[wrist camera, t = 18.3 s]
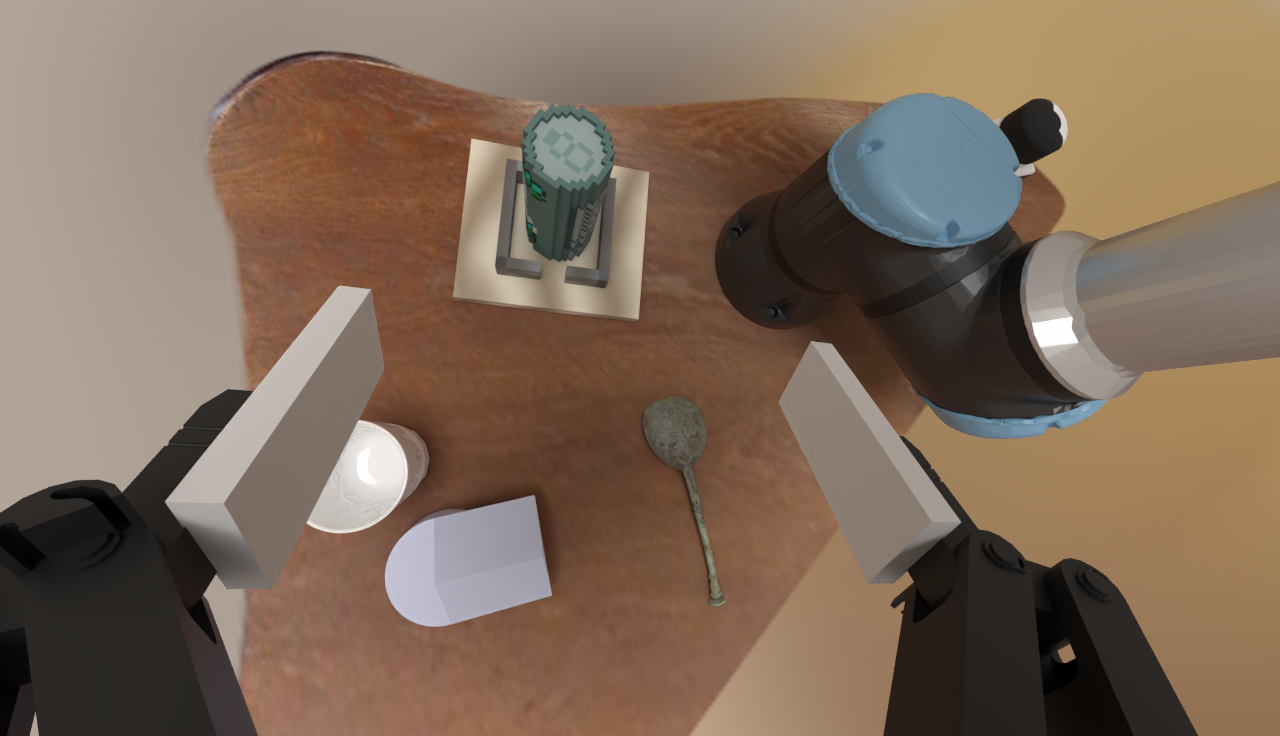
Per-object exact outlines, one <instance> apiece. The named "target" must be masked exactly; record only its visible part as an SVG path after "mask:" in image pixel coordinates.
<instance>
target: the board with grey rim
mask: <svg viewBox="0 0 1280 736" xmlns="http://www.w3.org/2000/svg"><path fill="white" fill-rule="evenodd" d="M648 181H649V172H645V171H640V170H635V169H629V168H624V167H619V166H613V169H612V172H611V175H610V178H609V182H608V185H607V188H606V191H605V194H604V198H603V201H602V204H601V207H600V210H599V214H598V217H597V220H596V223H595V226H594V230H593V233H592V236H591V239H590V242H589V243H588V245H587V246H586V248H585V249H584V250H583V252H582V253H581V255H580V256H579V257H578V256H576V255H575V256H574V257H573V259H572V260H571V261H570V260H569V259H567V260H566V262H565V261H563V260H561V261H560V263H559V262H558V261H556V260H555V259H554V258H552V260H551V261H550V260H548V259H547V258H545V257H544V256H542V255H541V254H539V253H538V252H537V251H535V250H534V249H533V244H532V243H530V242H529V241H528V236H527V230H526V219H525V200H524V181H523V163H522V148H519V147H513V146H508V145H503V144H497V143H492V142H487V141H482V140H476V139H472V141H471V149H470V158H469V166H468V175H467V183H466V191H465V200H464V208H463V216H462V225H461V233H460V241H459V250H458V258H457V266H456V275H455V283H454V291H453V298H454V299H455V301H462V302H470V303H479V304H487V305H496V306H504V307H513V308H521V309H530V310H538V311H547V312H555V313H564V314H573V315H581V316H590V317H598V318H607V319H615V320H624V321H632V322H636V321H637V320H638V319H639V308H640V294H641V280H642V266H643V252H644V237H645V223H646V209H647V195H648Z"/></svg>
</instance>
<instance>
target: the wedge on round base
mask: <svg viewBox="0 0 1280 736" xmlns="http://www.w3.org/2000/svg"><path fill="white" fill-rule="evenodd" d="M385 585H386V590H387V593H388V597H389V599H390V601H391V603H392V604H393V606H394V607H395V608H396V610H397V611H398V612H399V613H400V614H401V615H403V616H404V617H405V618H407V619H408V620H410V621H412V622H414V623H417V624H420V625H425V626H434V627H437V626H446V625H450V624H454V623H458V622H461V621H465V620H468V619H472V618H475V617H479V616H482V615H486V614H489V613H493V612H496V611H500V610H503V609H507V608H510V607H514V606H517V605H521V604H524V603H528V602H531V601H535V600H538V599H542V598H545V597H549V596H552V592H551V587H550V581H549V575H548V569H547V564H546V558H545V552H544V546H543V541H542V535H541V529H540V523H539V518H538V512H537V506H536V500H535V495H532V496H528V497H524V498H519V499H515V500H511V501H506V502H502V503H498V504H493V505H489V506H485V507H480V508H476V509H472V510H462V509H447V510H441V511H438V512H435V513H432V514H430V515H428V516H426V517H425V518H423V519H421V520H420V521H419V522H418V523H416V524H415V525H414V526H413V527H412V528H411V529H410V530H409V531H408V532H406V533H405V534H404V535H403V536H402V537H401V538H400V540H399V541H398V542H397V544H396V545H395V547H394V548H393V550H392V552H391V554H390V556H389V558H388V562H387V565H386V571H385Z"/></svg>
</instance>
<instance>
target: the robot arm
mask: <svg viewBox="0 0 1280 736" xmlns="http://www.w3.org/2000/svg"><path fill="white" fill-rule="evenodd" d="M1019 166H1020V165H1019V161H1018V158H1017V155H1016V153H1015V151H1014V149H1013V147H1012V145H1011V143H1010V142H1009V140H1008V138H1007V137H1006V136H1005V134H1004V133H1003V132H1002V130H1001V129H1000V128H999V127H998V126H997V125H996V124H995V123H994V122H993V121H992V120H991V119H990V118H989V117H988V116H986V115H985V114H984V113H982V112H981V111H979V110H978V109H976V108H975V107H973V106H972V105H969V104H968V103H966V102H963V101H961V100H958V99H956V98H953V97H941V96H938V95H936V94H932V93H918V94H911V95H906V96H902V97H899V98H896V99H894V100H891V101H889V102H887V103H885V104H884V105H882V106H880V107H879V108H877V109H876V110H875V111H874V112H872V113H871V114H870V115H869V116H867V117H866V118H865V119H864V120H862V121H861V122H860V123H858V124H856V125H854V126H852V127H850V128H849V129H847V130H846V131H845V132H844V133H843V134H842V135H841V136H840V137H839V138H838V139H837V140H836V142H835V144H834V145H833V146H832V148H831V149H830V150H828V151H827V152H826V153H825V154H824V155H823V156H822V157H821V158H820V159H819V160H817V161H816V162H815V163H814V164H813V165H812V166H811V167H809V168H808V169H807V170H806V171H805V172H804V173H803V174H801V175H800V176H799V177H798V178H797V179H796V180H795V181H794V182H792V183H791V184H790V185H789V186H788V187H787V188H785V189H782V190H778V191H775V192H771V193H768V194H764V195H761V196H758V197H756V198H754V199H752V200H751V201H749V202H747V203H746V204H744V205H743V206H742V207H741V208H740V209H739V210H738V211H737V212H736V213H735V214H734V215H733V216H732V217H731V218H730V219H729V220H728V222H727V223H726V224H725V226H724V228H723V229H722V231H721V234H720V236H719V239H718V243H717V248H716V269H717V274H718V278H719V281H720V284H721V286H722V288H723V290H724V292H725V294H726V296H727V297H728V299H729V300H730V302H731V303H732V304H733V306H734V307H735V308H736V309H737V310H738V311H739V312H740V313H742V314H743V315H744V316H745V317H747V318H748V319H750V320H751V321H753V322H755V323H757V324H760V325H762V326H765V327H769V328H775V329H789V328H794V327H798V326H801V325H804V324H807V323H810V322H812V321H814V320H816V319H818V318H820V317H821V316H823V315H824V314H825V313H827V312H828V311H829V310H830V309H831V308H832V307H833V306H834V305H835V303H836V302H837V301H838V300H839V299H840V298H841V297H842V296H843V295H844V294H845V293H846V292H847V291H848V293H849V294H850V296H851V297H852V298H853V300H854V301H855V303H856V304H857V305H858V307H859V308H860V309H861V311H862V312H863V314H864V315H865V317H866V318H867V320H868V321H869V323H870V324H871V326H872V327H873V329H874V330H875V331H876V333H877V334H878V336H879V337H880V339H881V340H882V342H883V343H884V345H885V346H886V348H887V349H888V351H889V352H890V354H891V355H892V356H893V358H894V359H895V361H896V362H897V364H898V365H899V367H900V368H901V370H902V371H903V373H904V374H905V376H906V377H907V379H908V380H909V381H910V383H911V384H912V387H913V389H914V391H916V393H917V395H918V396H919V397H920V398H921V399H922V400H923V401H924V402H925V403H927V404H928V405H929V407H930V408H931V409H932V410H933V411H934V413H935V414H936V415H937V416H938V417H939V418H940V419H941V420H942V421H943V422H944V423H945V424H947V425H948V426H950V427H951V428H953V429H955V430H957V431H960V432H962V433H966V434H968V435H972V436H977V437H983V438H992V439H1016V438H1025V437H1032V436H1038V435H1042V434H1044V432H1045V429H1047V428H1049V427H1057V428H1060V429H1063V428H1066V427H1069V426H1072V425H1074V424H1076V423H1078V422H1080V421H1082V420H1084V419H1086V418H1087V417H1089V416H1090V415H1091V414H1093V413H1095V412H1096V411H1097V410H1099V409H1100V408H1101V407H1102V405H1103V404H1104V403H1105V402H1106V401H1107V400H1108V399H1112V398H1116V397H1118V396H1120V395H1122V394H1124V393H1125V392H1127V391H1128V390H1129V389H1130V388H1131V387H1132V386H1133V385H1134V383H1135V382H1136V381H1137V380H1138V379H1139V378H1140V376H1141V375H1142V374H1143V373H1144V372H1149V371H1158V370H1167V369H1176V368H1186V367H1195V366H1204V365H1213V364H1222V363H1231V362H1239V361H1250V360H1259V359H1267V358H1277V357H1280V181H1279V182H1276V183H1273V184H1270V185H1267V186H1264V187H1261V188H1258V189H1255V190H1252V191H1249V192H1246V193H1243V194H1240V195H1237V196H1234V197H1231V198H1228V199H1225V200H1222V201H1219V202H1216V203H1213V204H1210V205H1207V206H1204V207H1201V208H1198V209H1195V210H1192V211H1189V212H1186V213H1183V214H1180V215H1177V216H1174V217H1171V218H1168V219H1165V220H1162V221H1159V222H1156V223H1153V224H1150V225H1147V226H1144V227H1141V228H1138V229H1135V230H1132V231H1129V232H1126V233H1124V234H1120V235H1117V236H1114V237H1111V238H1108V239H1105V240H1099V239H1097V238H1094V237H1091V236H1088V235H1086V234H1083V233H1080V232H1076V231H1059V232H1056V233H1053V234H1050V235H1047V236H1045V237H1042V238H1039V239H1037V240H1034V241H1031V242H1028V243H1022V241H1021V240H1020V238H1019V237H1018V235H1017V234H1016V232H1015V231H1014V230H1013V228H1012V227H1011V225H1010V224H1009V222H1008V220H1009V219H1010V218H1011V216H1012V215H1013V213H1014V212H1015V210H1016V208H1017V206H1018V204H1019V201H1020V197H1021V191H1022V179H1021V178H1020V177H1018V176H1017V175H1015V173H1014V172H1016V171H1017V169H1018V168H1019ZM384 369H385V368H384V362H383V357H382V351H381V345H380V339H379V333H378V328H377V322H376V316H375V310H374V304H373V298H372V293H371V289H363V288H354V287H346V286H338V288H337V289H336V290H335V291H334V292H333V294H332V295H331V296H330V297H329V299H328V300H327V301H326V302H325V304H324V305H323V306H322V307H321V309H320V310H319V311H318V312H317V314H316V315H315V316H314V317H313V319H312V320H311V321H310V322H309V323H308V325H307V326H306V327H305V328H304V330H303V331H302V332H301V333H300V335H299V336H298V337H297V338H296V340H295V341H294V342H293V343H292V345H291V346H290V347H289V348H288V350H287V351H286V352H285V353H284V354H283V356H282V357H281V358H280V359H279V361H278V362H277V363H276V364H275V366H274V367H273V368H272V369H271V371H270V372H269V373H268V374H267V376H266V377H265V378H264V379H263V381H262V382H261V383H260V384H259V385H258V387H257V388H256V389H255V390H254V391H244V390H230V389H228V390H226V391H224V392H223V393H221V394H219V395H218V396H216V397H215V398H213V399H211V400H210V401H208V402H206V403H205V404H203V405H201V406H200V407H199V409H198V410H197V411H196V412H195V413H194V414H193V415H192V416H191V417H190V419H189V420H188V421H187V422H186V423H185V424H184V428H183V429H180V430H179V431H178V432H177V433H176V434H175V435H174V436H173V437H172V438H171V440H170V441H169V444H168V446H164V447H163V448H162V449H161V450H160V452H159V453H158V454H157V455H156V456H155V457H154V458H153V459H152V460H151V462H150V463H149V464H148V465H147V466H146V467H145V468H144V469H143V470H142V472H141V473H140V474H139V475H138V476H137V477H136V478H135V479H134V480H133V481H132V483H131V484H130V485H129V486H128V487H127V488H126V489H125V490H124V491H123V492H122V493H121V491H120V490H119V489H118V488H117V486H116V485H115V484H112V483H108V482H105V481H101V480H80V481H79V480H77V481H72V482H68V483H64V484H60V485H56V486H51V487H48V488H46V489H43V490H41V491H39V492H37V493H34V494H32V495H29V496H27V497H25V498H23V499H21V500H19V501H18V502H16V503H15V504H13V505H12V506H10V507H9V508H7V509H6V510H4V511H3V512H1V513H0V736H30V731H31V727H32V723H33V719H34V715H35V711H36V717H37V724H38V731H39V736H258V734H257V732H256V729H255V726H254V724H253V721H252V718H251V716H250V713H249V710H248V708H247V705H246V702H245V700H244V697H243V694H242V691H241V689H240V686H239V683H238V681H237V678H236V675H235V673H234V670H233V667H232V665H231V662H230V659H229V657H228V654H227V651H226V649H225V646H224V643H223V641H222V638H221V635H220V633H219V630H218V627H217V624H216V622H215V619H214V616H213V614H212V611H211V608H210V606H209V603H208V601H207V599H206V598H205V597H204V596H203V594H204V592H205V591H206V589H207V587H208V586H209V584H210V582H211V581H212V579H213V578H214V576H215V575H217V576H218V577H219V579H220V580H221V581H222V583H223V584H224V586H225V587H226V589H263V588H274V586H275V584H276V582H277V580H278V578H279V576H280V574H281V572H282V570H283V568H284V566H285V564H286V562H287V560H288V558H289V556H290V554H291V552H292V550H293V549H294V547H295V545H296V543H297V541H298V539H299V537H300V535H301V533H302V531H303V529H304V527H305V525H306V523H307V521H308V519H309V517H310V515H311V513H312V511H313V509H314V507H315V505H316V503H317V501H318V499H319V497H320V495H321V493H322V491H323V489H324V487H325V485H326V483H327V482H328V480H329V478H330V476H331V474H332V472H333V470H334V468H335V466H336V464H337V462H338V460H339V458H340V456H341V454H342V452H343V450H344V448H345V446H346V444H347V442H348V440H349V438H350V436H351V434H352V432H353V430H354V428H355V426H356V424H357V422H358V420H359V418H360V416H361V415H362V413H363V411H364V409H365V407H366V405H367V403H368V401H369V399H370V397H371V395H372V393H373V391H374V389H375V387H376V385H377V383H378V381H379V379H380V377H381V375H382V373H383V371H384ZM778 403H779V405H780V407H781V409H782V411H783V413H784V415H785V417H786V419H787V421H788V423H789V425H790V427H791V429H792V431H793V433H794V435H795V437H796V439H797V441H798V443H799V445H800V447H801V449H802V451H803V453H804V455H805V457H806V459H807V461H808V464H809V466H810V468H811V470H812V472H813V474H814V476H815V478H816V480H817V482H818V484H819V486H820V488H821V490H822V492H823V494H824V496H825V498H826V500H827V502H828V504H829V506H830V508H831V510H832V512H833V514H834V516H835V518H836V520H837V522H838V524H839V526H840V528H841V530H842V533H843V535H844V537H845V539H846V541H847V543H848V544H849V547H850V549H851V551H852V553H853V555H854V557H855V559H856V561H857V563H858V565H859V567H860V569H861V571H862V573H863V575H864V577H865V579H866V581H867V583H894V582H896V581H897V580H898V579H899V578H900V577H901V576H902V575H903V574H904V573H906V572H907V571H908V572H909V574H910V576H911V577H912V579H913V581H914V583H912V584H911V585H910V586H909V587H908V588H907V589H905V590H904V591H903V592H902V593H901V594H900V595H898V596H897V597H896V598H895V599H894V600H893V602H892V603H891V607H893V608H896V607H897V606H898V605H899V604H901V603H902V602H904V601H905V605H904V610H903V611H901V613H902V614H903V618H902V624H901V630H900V636H899V643H898V649H897V655H896V661H895V667H894V673H893V680H892V686H891V693H890V698H889V704H888V711H887V717H886V723H885V729H884V735H883V736H1198V735H1197V733H1196V731H1195V729H1194V727H1193V725H1192V723H1191V722H1190V720H1189V718H1188V716H1187V714H1186V712H1185V710H1184V708H1183V707H1182V705H1181V703H1180V701H1179V699H1178V697H1177V695H1176V693H1175V692H1174V690H1173V688H1172V686H1171V684H1170V682H1169V680H1168V679H1167V677H1166V675H1165V673H1164V671H1163V669H1162V667H1161V665H1160V663H1159V662H1158V660H1157V658H1156V656H1155V654H1154V652H1153V650H1152V649H1151V647H1150V645H1149V643H1148V641H1147V639H1146V637H1145V635H1144V634H1143V632H1142V630H1141V628H1140V626H1139V624H1138V623H1137V620H1136V619H1135V617H1134V615H1133V613H1132V611H1131V609H1130V607H1129V605H1128V604H1127V602H1126V600H1125V598H1124V597H1123V595H1122V594H1121V592H1120V591H1119V590H1118V588H1117V587H1116V586H1115V585H1114V584H1113V583H1112V582H1111V581H1110V580H1109V579H1108V578H1107V577H1106V576H1105V575H1104V574H1103V573H1101V572H1100V571H1098V570H1097V569H1095V568H1094V567H1092V566H1090V565H1088V564H1086V563H1084V562H1082V561H1080V560H1076V559H1072V558H1068V559H1063V560H1062V561H1060V562H1059V563H1057V564H1056V565H1054V566H1053V567H1051V568H1049V567H1046V566H1043V565H1040V564H1037V563H1034V562H1030V561H1027V560H1025V559H1024V557H1023V556H1022V554H1021V553H1020V552H1019V551H1018V550H1017V549H1016V548H1015V547H1014V546H1013V545H1012V544H1011V543H1009V542H1007V541H1006V540H1005V539H1003V538H1002V537H1000V536H999V535H996V534H994V533H992V532H989V531H985V530H979V529H978V528H977V527H976V525H975V524H974V523H973V521H972V520H971V519H970V517H969V516H968V515H967V513H966V512H965V511H964V509H963V508H962V507H961V505H960V504H959V503H958V501H957V500H956V499H955V497H954V496H953V495H952V493H951V492H950V491H949V489H948V488H947V487H946V485H945V484H944V483H943V482H941V481H940V477H939V476H938V475H937V473H936V472H935V471H934V469H931V465H930V464H929V463H928V461H927V460H926V459H925V457H924V456H923V454H922V453H921V452H920V451H919V450H918V449H917V448H916V447H915V446H914V445H913V444H911V443H910V442H909V441H908V440H907V439H906V438H904V437H903V436H898V434H897V433H896V432H895V430H894V429H893V427H892V426H891V425H890V423H889V422H888V421H887V419H886V418H885V416H884V415H883V414H882V412H881V411H880V410H879V408H878V407H877V405H876V404H875V403H874V401H873V400H872V399H871V397H870V396H869V394H868V393H867V392H866V390H865V389H864V387H863V386H862V385H861V383H860V382H859V381H858V379H857V378H856V376H855V375H854V374H853V372H852V371H851V370H850V368H849V367H848V365H847V364H846V363H845V361H844V360H843V359H842V357H841V356H840V354H839V353H838V352H837V350H836V349H835V348H834V346H833V345H832V344H830V343H822V342H813V341H811V342H810V344H809V346H808V348H807V350H806V352H805V353H804V355H803V357H802V359H801V361H800V363H799V365H798V366H797V368H796V370H795V372H794V374H793V376H792V378H791V380H790V381H789V383H788V385H787V387H786V389H785V391H784V393H783V394H782V396H781V398H780V400H779V402H778ZM1069 644H1071V647H1072V649H1073V652H1074V654H1075V657H1076V658H1075V659H1073V660H1071V661H1069V662H1067V663H1063V662H1062V661H1061V658H1060V656H1059V654H1058V650H1059V649H1061V648H1063V647H1065V646H1067V645H1069Z"/></svg>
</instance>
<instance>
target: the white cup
mask: <svg viewBox="0 0 1280 736" xmlns="http://www.w3.org/2000/svg"><path fill="white" fill-rule="evenodd" d="M429 461H430V457H429V453H428V449H427V446H426V443H425V442H424V441H423V440H422V438H421V437H420V436H419V435H418V434H417V433H416V432H415V431H413V430H411V429H408V428H406V427H403V426H401V425H395V424H391V423H385V422H378V421H365V420H358V422H357V424H356V426H355V428H354V430H353V432H352V434H351V436H350V438H349V440H348V442H347V444H346V446H345V448H344V450H343V452H342V454H341V456H340V458H339V460H338V462H337V464H336V466H335V468H334V470H333V472H332V474H331V476H330V478H329V480H328V482H327V483H326V485H325V487H324V489H323V491H322V493H321V495H320V497H319V499H318V501H317V503H316V505H315V507H314V509H313V511H312V513H311V515H310V517H309V519H308V521H307V524H308V525H310V526H312V527H314V528H316V529H319V530H322V531H326V532H331V533H350V532H355V531H359V530H363V529H365V528H368V527H370V526H372V525H374V524H376V523H378V522H379V521H381V520H382V519H383V518H385V517H386V516H387V515H388V514H389V513H391V512H392V511H393V510H394V509H395V508H396V507H397V506H399V505H400V504H401V503H402V502H403V501H404V500H405V499H406V498H407V497H408V496H409V495H410V494H411V493H412V492H413V491H414V490H415V489H416V488H417V486H418V485H419V484H420V483H421V481H422V480H423V479H424V477H425V476H426V474H427V469H428V465H429Z"/></svg>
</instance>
